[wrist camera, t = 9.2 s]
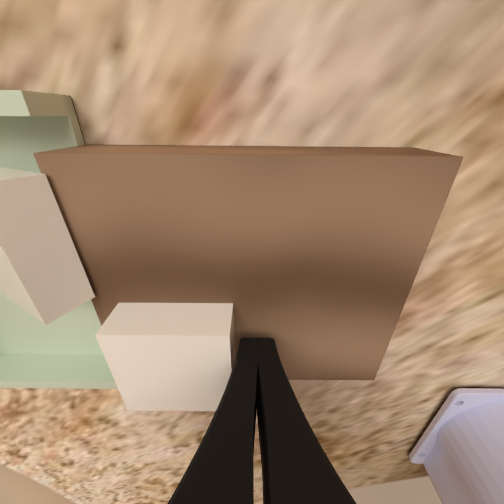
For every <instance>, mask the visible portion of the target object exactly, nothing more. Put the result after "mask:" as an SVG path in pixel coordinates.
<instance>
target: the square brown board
mask: <svg viewBox="0 0 504 504" xmlns="http://www.w3.org/2000/svg"><path fill="white" fill-rule="evenodd" d="M33 154H34V157H35V159H36V162H37V164H38V167H39V170H40V172H41V173H43V174H45V175H46V177H47V180H48V182H49V185H50V187H51V189H52V192H53V194H54V197H55V199H56V202H57V204H58V207H59V209H60V212H61V214H62V217H63V219H64V222H65V224H66V226H67V229H68V231H69V234H70V236H71V239H72V241H73V244H74V246H75V249H76V251H77V254H78V256H79V258H80V261H81V263H82V266H83V268H84V271H85V273H86V276H87V278H88V281H89V283H90V286H91V288H92V291H93V293H94V295H95V297H94V298H92V299H91V301H92V303H93V306H94V308H95V311H96V313H97V316H98V318H99V321H100V323H101V326H102V325H103V323H104V322H105V321H106V319H107V318H108V317H109V315H110V314H111V312H112V311H113V310H114V308H115V307H116V305H117V304H118V303H233V312H234V336H235V359H236V356H237V352H238V347H239V341H240V339H241V338H243V337H249V338H273V339H274V340H275V344H276V347H277V351H278V354H279V357H280V360H281V363H282V366H283V368H284V371H285V373H286V376H287V378H288V379H300V380H374V379H375V376H376V374H377V371H378V369H379V366H380V364H381V361H382V359H383V356H384V354H385V351H386V349H387V346H388V344H389V341H390V339H391V337H392V334H393V332H394V329H395V327H396V324H397V322H398V319H399V317H400V314H401V312H402V309H403V307H404V304H405V302H406V299H407V297H408V294H409V292H410V289H411V287H412V284H413V282H414V279H415V277H416V274H417V272H418V269H419V267H420V264H421V262H422V259H423V257H424V254H425V252H426V249H427V247H428V244H429V242H430V239H431V237H432V234H433V232H434V229H435V227H436V224H437V222H438V219H439V217H440V214H441V212H442V209H443V207H444V204H445V202H446V199H447V197H448V194H449V192H450V189H451V187H452V184H453V182H454V179H455V177H456V174H457V172H458V169H459V167H460V164H461V162H462V159H463V157H460V156H455V155H450V154H444V153H439V152H434V151H429V150H423V149H418V148H392V147H283V146H174V145H80V146H74V147H68V148H62V149H56V150H49V151H43V152H37V153H33Z"/></svg>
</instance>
